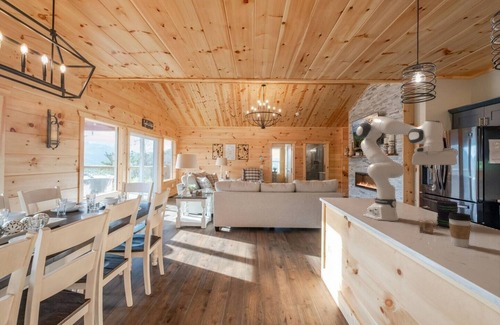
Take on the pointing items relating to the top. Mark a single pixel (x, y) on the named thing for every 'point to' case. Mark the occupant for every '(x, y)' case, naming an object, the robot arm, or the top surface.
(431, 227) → the lettered cube
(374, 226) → the top surface
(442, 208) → the storage jar
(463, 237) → the coffee cup
